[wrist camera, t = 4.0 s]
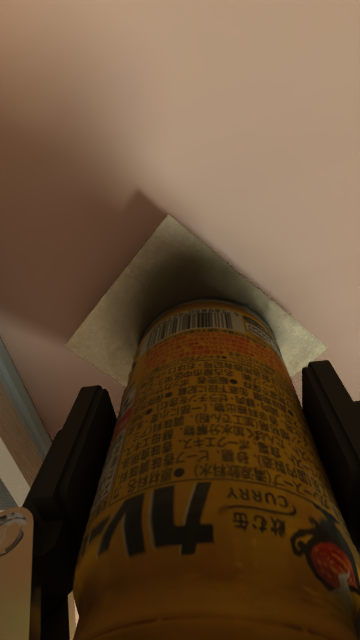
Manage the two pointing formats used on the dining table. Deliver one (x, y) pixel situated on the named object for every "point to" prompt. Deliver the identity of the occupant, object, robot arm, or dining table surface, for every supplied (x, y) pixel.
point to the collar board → (18, 437)
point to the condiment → (208, 465)
